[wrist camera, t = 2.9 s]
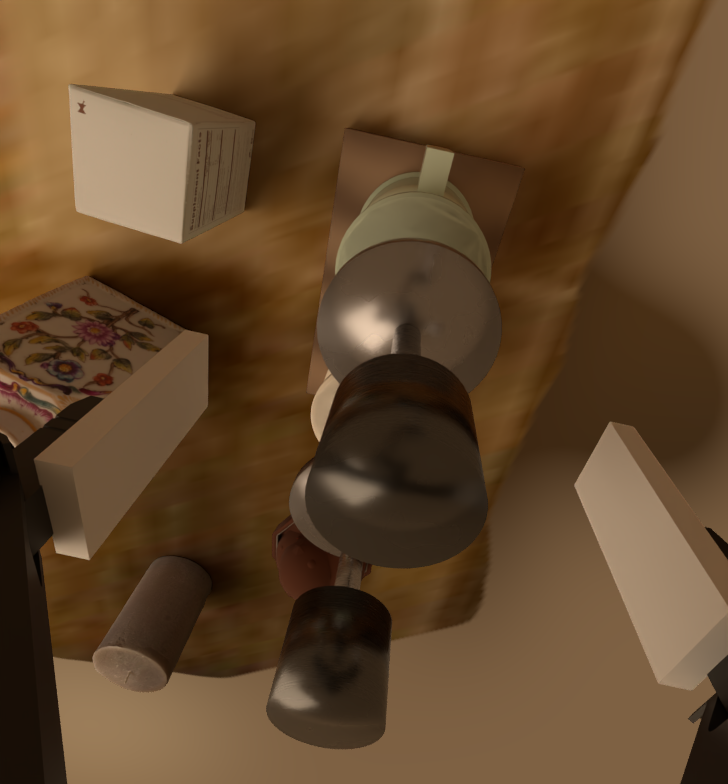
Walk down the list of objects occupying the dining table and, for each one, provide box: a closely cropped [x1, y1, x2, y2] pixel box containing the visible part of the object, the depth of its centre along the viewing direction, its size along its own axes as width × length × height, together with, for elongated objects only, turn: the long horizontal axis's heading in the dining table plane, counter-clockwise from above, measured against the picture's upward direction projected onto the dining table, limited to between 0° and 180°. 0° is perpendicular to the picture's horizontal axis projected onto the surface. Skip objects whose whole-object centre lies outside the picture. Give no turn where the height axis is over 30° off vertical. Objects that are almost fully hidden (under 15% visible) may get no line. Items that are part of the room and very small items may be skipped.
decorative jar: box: [0, 276, 186, 450], centre depth 41 cm, size 12×12×18 cm
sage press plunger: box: [305, 238, 502, 568], centre depth 16 cm, size 8×8×11 cm
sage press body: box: [335, 144, 491, 283], centre depth 32 cm, size 12×10×12 cm
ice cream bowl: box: [272, 515, 372, 600], centre depth 49 cm, size 11×11×15 cm
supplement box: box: [68, 84, 255, 244], centre depth 33 cm, size 7×7×13 cm
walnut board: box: [306, 128, 525, 395], centre depth 42 cm, size 24×14×2 cm, turn 169°
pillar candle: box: [93, 556, 212, 692], centre depth 62 cm, size 10×10×15 cm
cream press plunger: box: [266, 458, 392, 749], centre depth 22 cm, size 8×8×11 cm
